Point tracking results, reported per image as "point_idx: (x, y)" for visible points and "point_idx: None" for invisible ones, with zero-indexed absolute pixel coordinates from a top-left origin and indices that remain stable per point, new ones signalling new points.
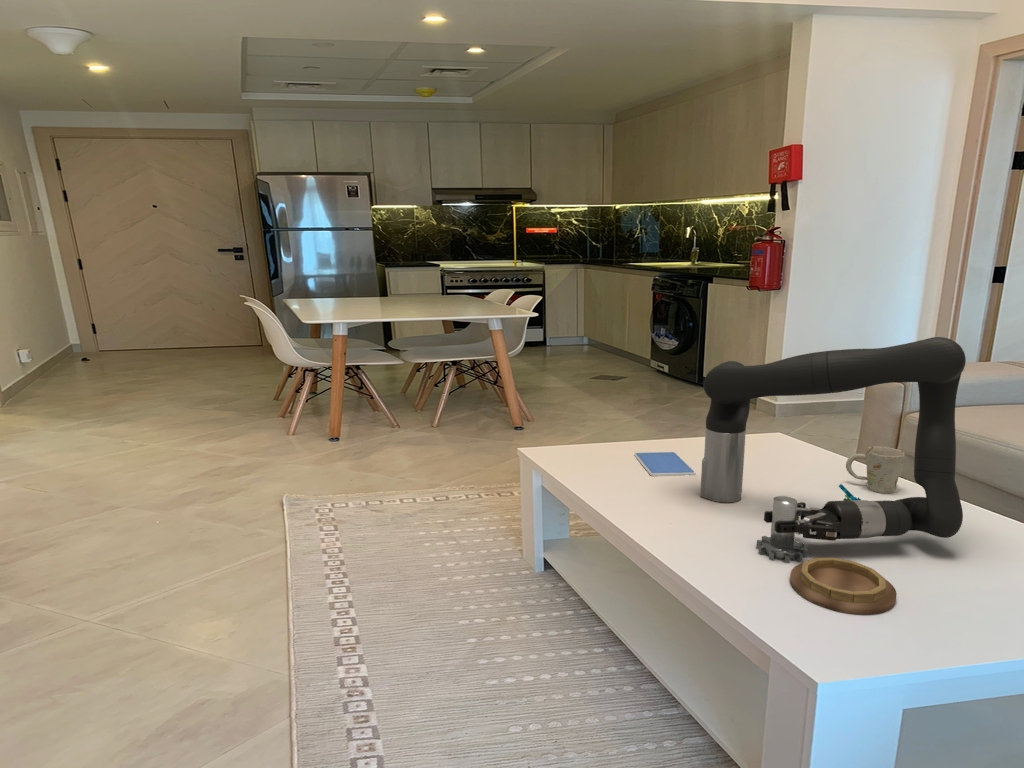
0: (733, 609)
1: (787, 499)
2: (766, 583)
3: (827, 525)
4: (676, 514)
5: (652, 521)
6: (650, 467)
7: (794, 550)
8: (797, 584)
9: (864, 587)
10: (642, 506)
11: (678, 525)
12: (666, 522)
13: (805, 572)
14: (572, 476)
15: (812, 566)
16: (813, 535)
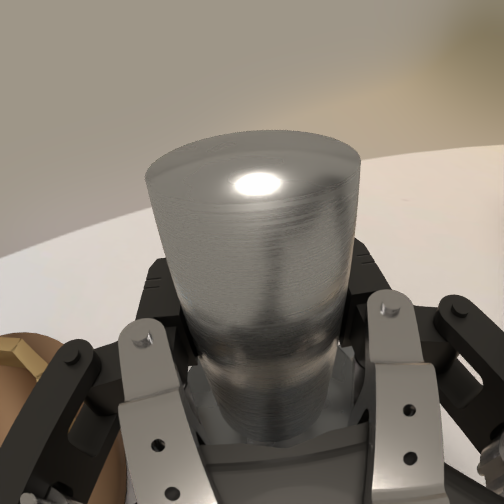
0: (49, 243)
1: (274, 162)
2: (83, 303)
3: (25, 501)
4: (455, 210)
5: (398, 184)
6: None
7: (209, 428)
8: (22, 335)
9: None
10: (456, 182)
11: (400, 207)
12: (405, 196)
13: (12, 345)
14: (494, 153)
15: None
16: (85, 434)
